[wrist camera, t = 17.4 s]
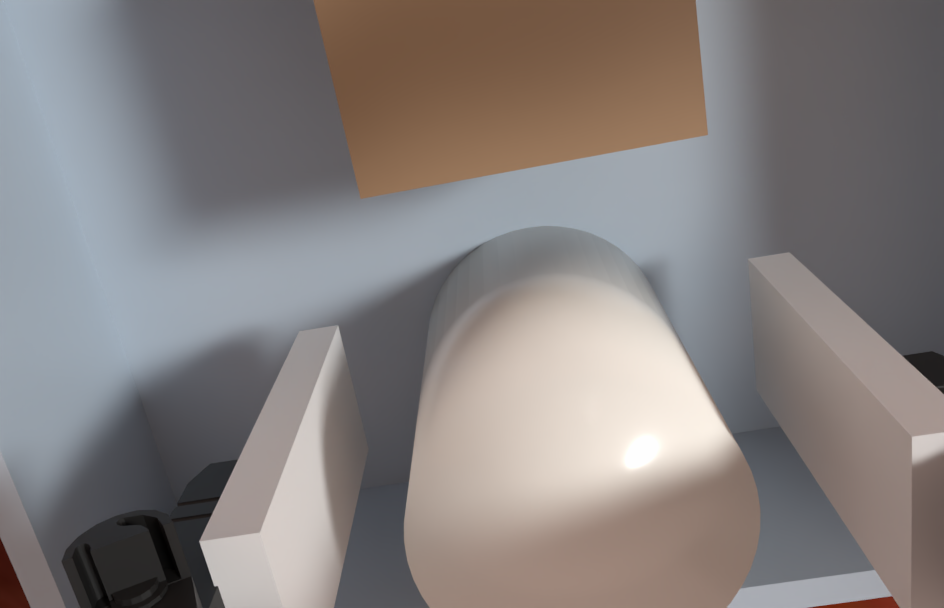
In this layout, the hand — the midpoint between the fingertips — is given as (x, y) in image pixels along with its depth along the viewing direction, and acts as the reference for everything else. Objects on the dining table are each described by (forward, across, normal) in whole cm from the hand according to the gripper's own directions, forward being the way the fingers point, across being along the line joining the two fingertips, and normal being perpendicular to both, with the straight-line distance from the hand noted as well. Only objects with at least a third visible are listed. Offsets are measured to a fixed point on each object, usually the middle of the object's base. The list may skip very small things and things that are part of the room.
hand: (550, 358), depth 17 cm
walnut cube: (+2, 0, +7) cm, 7 cm away
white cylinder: (+2, 0, 0) cm, 2 cm away
